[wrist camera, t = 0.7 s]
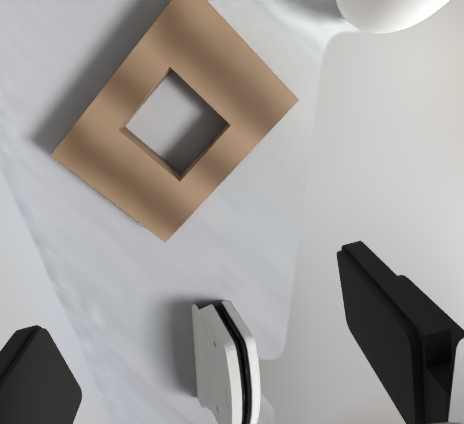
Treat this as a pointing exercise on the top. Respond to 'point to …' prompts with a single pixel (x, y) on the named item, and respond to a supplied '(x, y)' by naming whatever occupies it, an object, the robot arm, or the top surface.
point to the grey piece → (226, 364)
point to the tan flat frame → (206, 85)
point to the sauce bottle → (387, 13)
